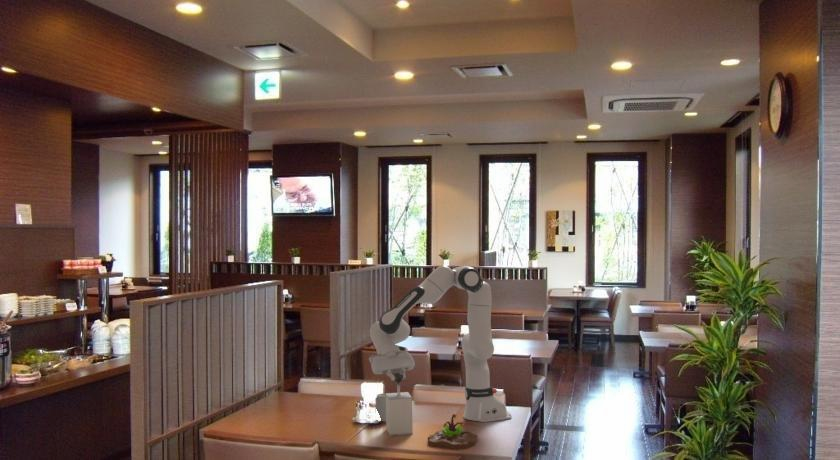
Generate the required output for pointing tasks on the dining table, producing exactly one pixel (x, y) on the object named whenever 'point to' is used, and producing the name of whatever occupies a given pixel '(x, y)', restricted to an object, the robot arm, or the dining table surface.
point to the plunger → (398, 381)
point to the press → (399, 414)
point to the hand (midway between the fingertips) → (399, 379)
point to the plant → (452, 437)
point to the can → (381, 406)
